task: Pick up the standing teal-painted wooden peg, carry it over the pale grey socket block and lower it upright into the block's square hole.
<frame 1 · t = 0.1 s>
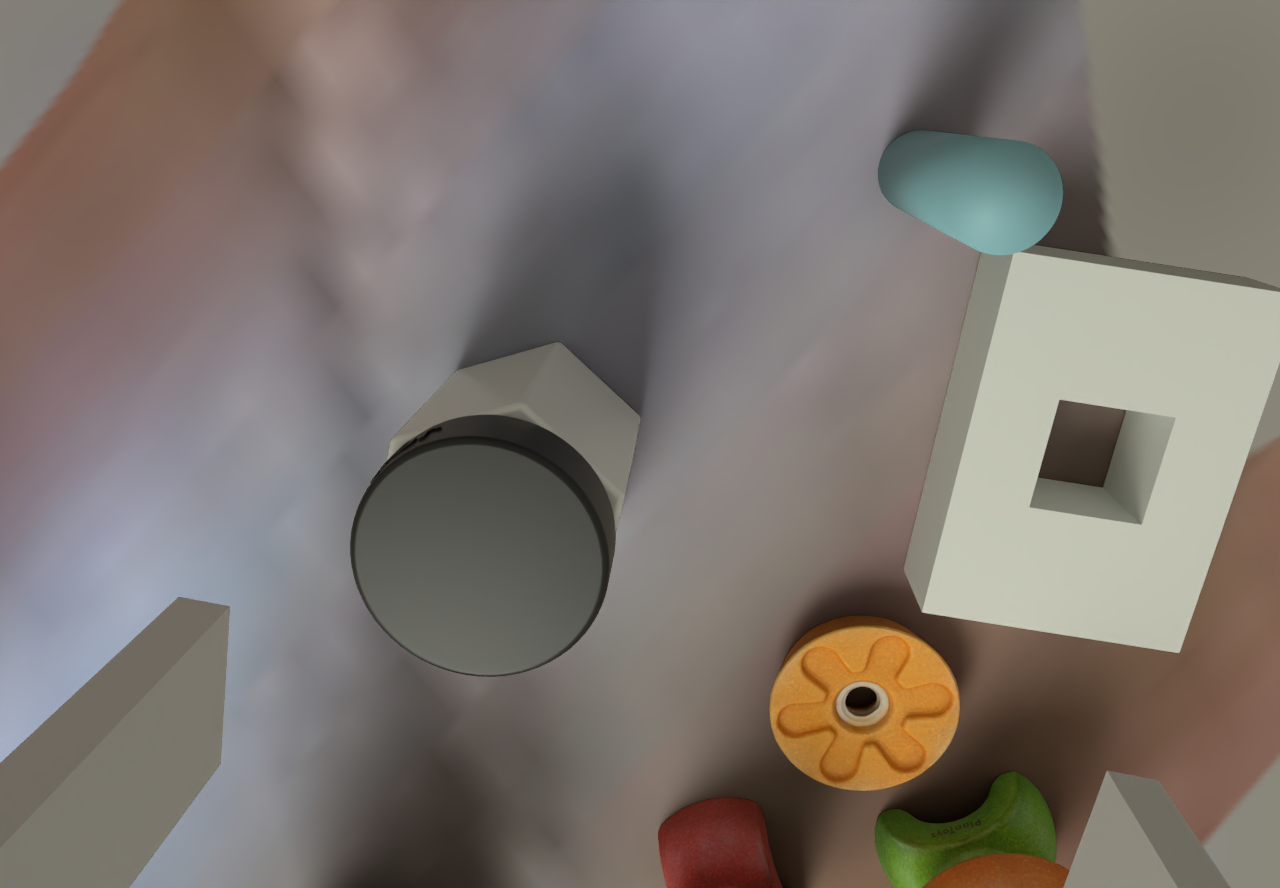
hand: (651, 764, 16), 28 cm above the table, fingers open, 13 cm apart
socket block: (1065, 430, 42), on the table
jar: (538, 442, 44), on the table
colourful stacking toy: (822, 792, 48), on the table
peg: (918, 171, 39), on the table
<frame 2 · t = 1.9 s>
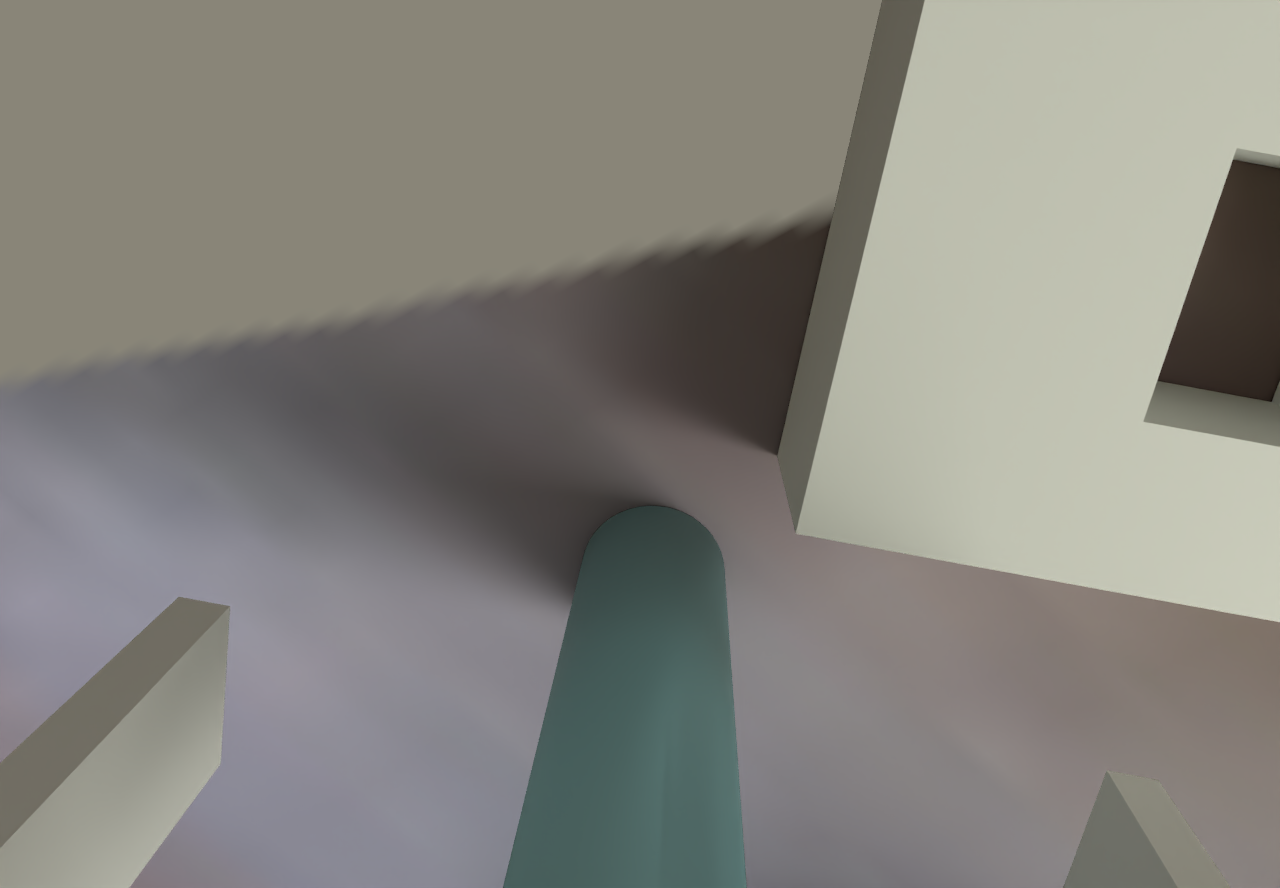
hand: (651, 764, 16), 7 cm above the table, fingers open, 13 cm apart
socket block: (1202, 275, 20), on the table
peg: (652, 572, 22), on the table
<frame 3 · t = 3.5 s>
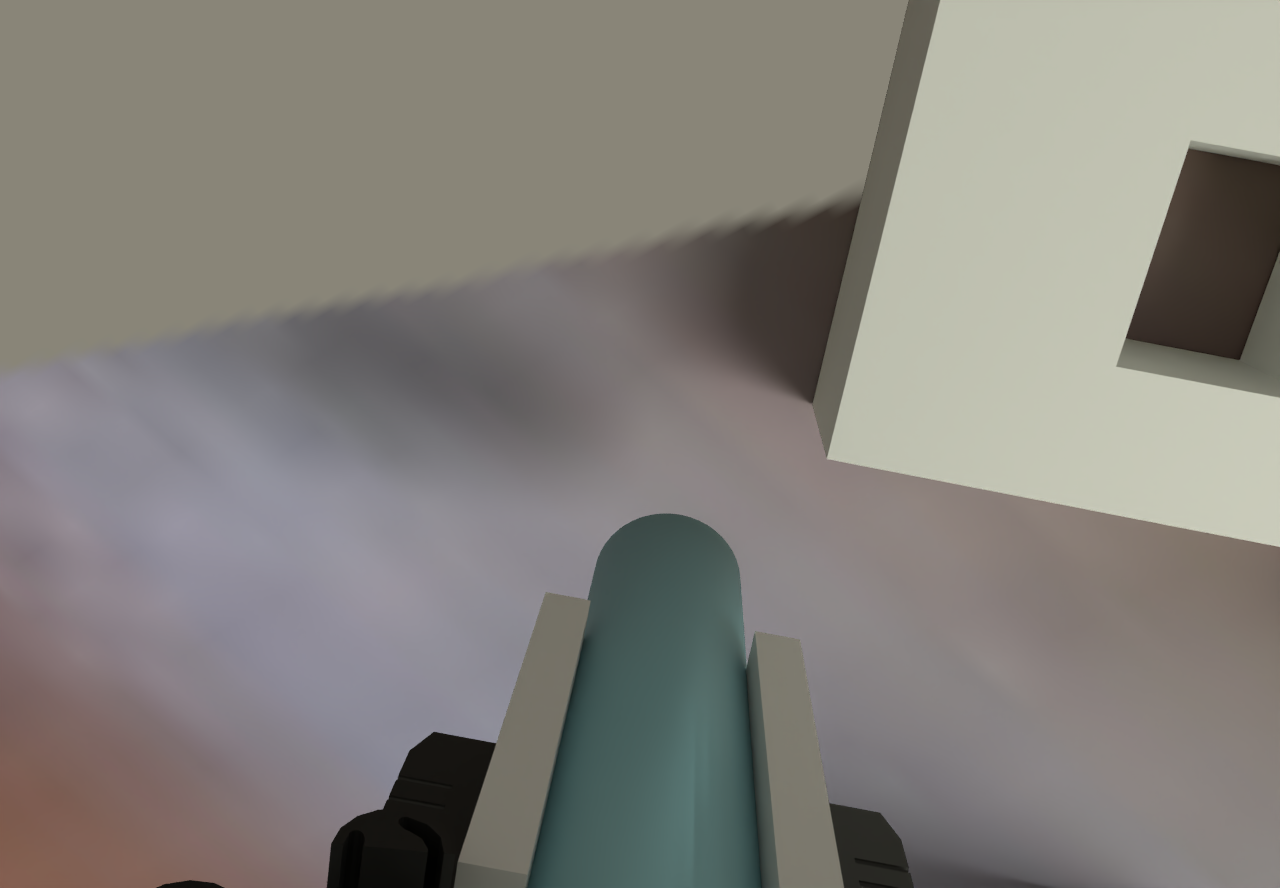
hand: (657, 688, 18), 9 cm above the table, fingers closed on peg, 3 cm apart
socket block: (1178, 250, 23), on the table
peg: (667, 581, 22), point 4 cm above the table, touching gripper
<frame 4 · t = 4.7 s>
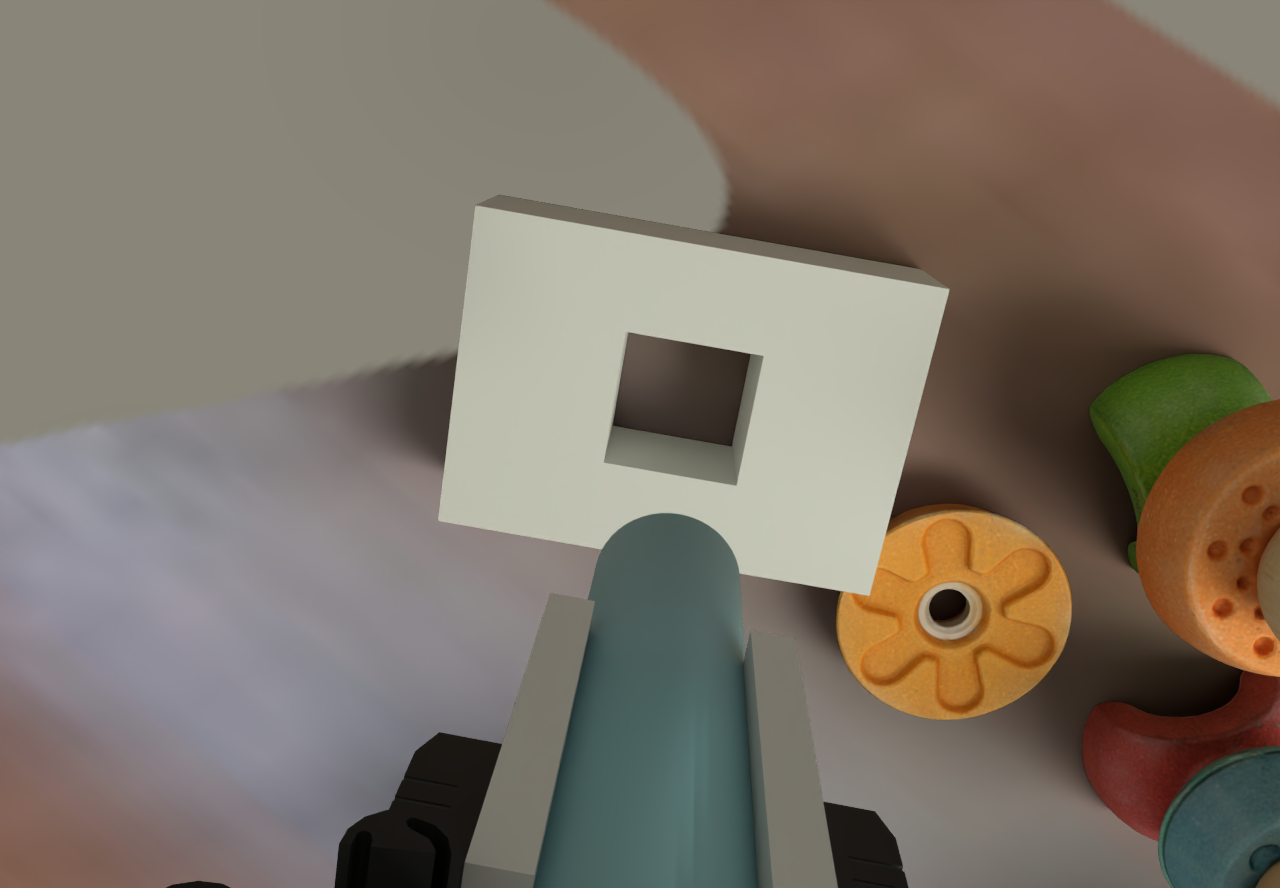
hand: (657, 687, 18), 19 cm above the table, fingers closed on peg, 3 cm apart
socket block: (683, 378, 36), on the table
colourful stacking toy: (1094, 629, 38), on the table
peg: (667, 580, 22), point 15 cm above the table, touching gripper
when the fingers open (5 cm above the table, at t = 6.5 s): peg stays where it is, resting in socket block.
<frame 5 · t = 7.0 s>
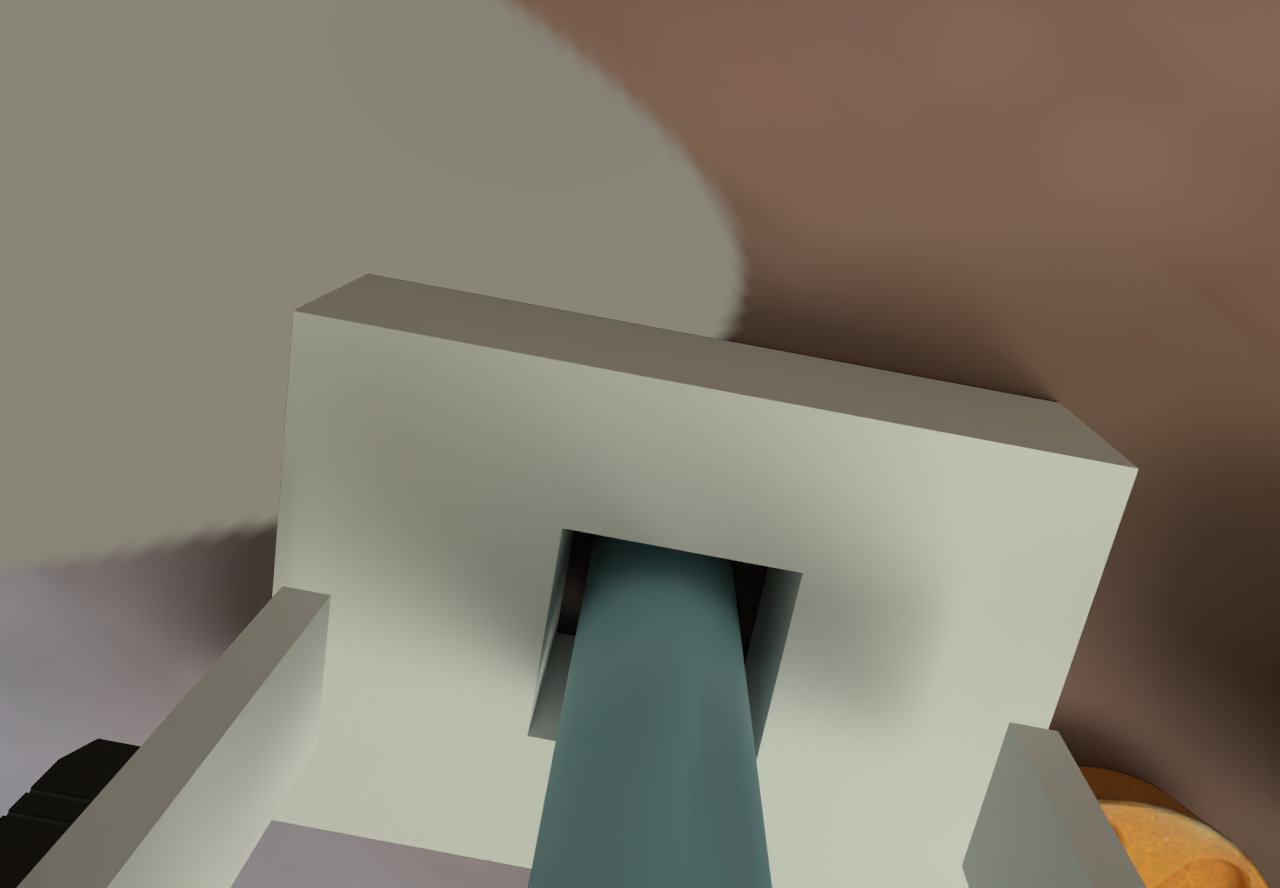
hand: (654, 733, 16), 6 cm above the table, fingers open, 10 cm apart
socket block: (667, 564, 22), on the table
peg: (660, 563, 22), resting in socket block
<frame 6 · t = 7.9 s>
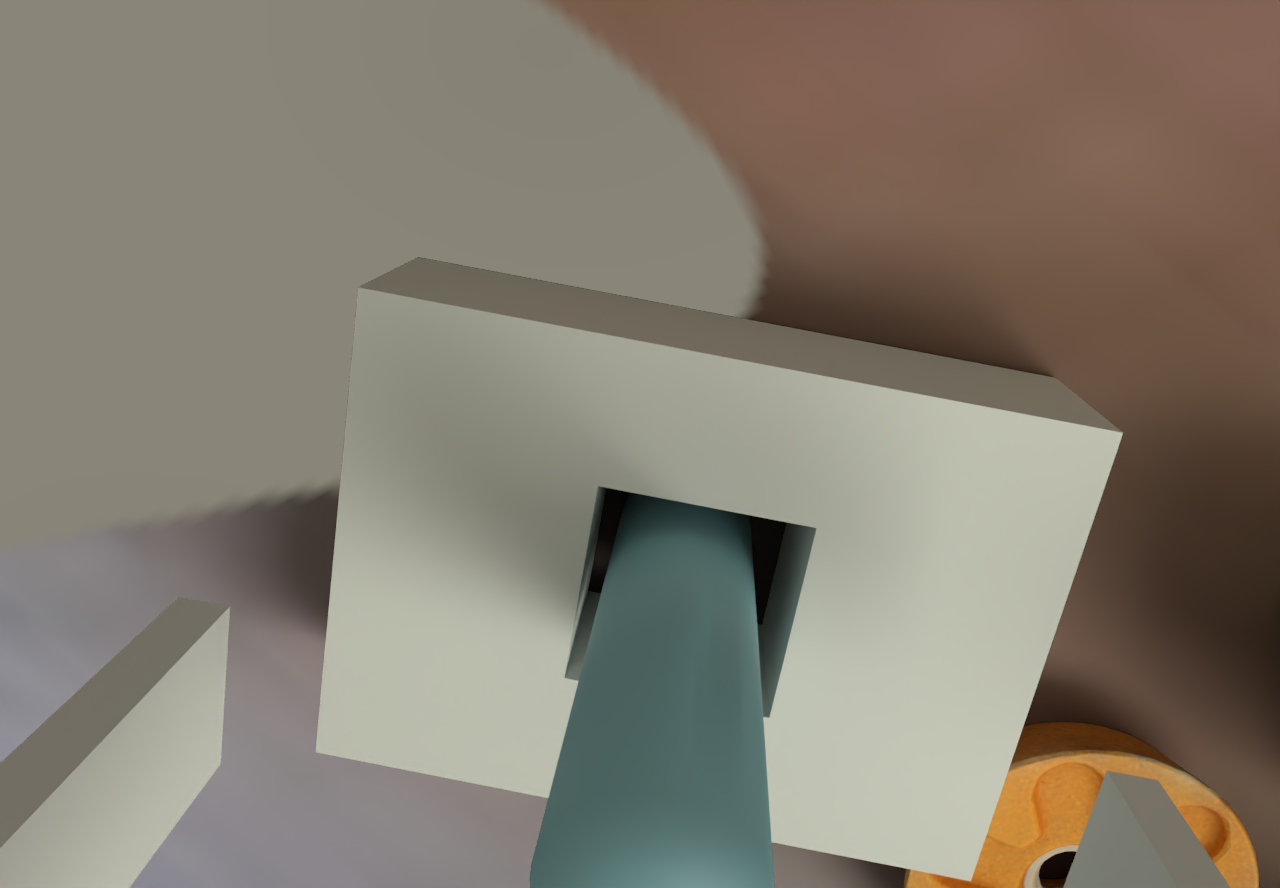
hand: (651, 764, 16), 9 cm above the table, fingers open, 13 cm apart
socket block: (691, 527, 24), on the table
peg: (685, 525, 24), resting in socket block
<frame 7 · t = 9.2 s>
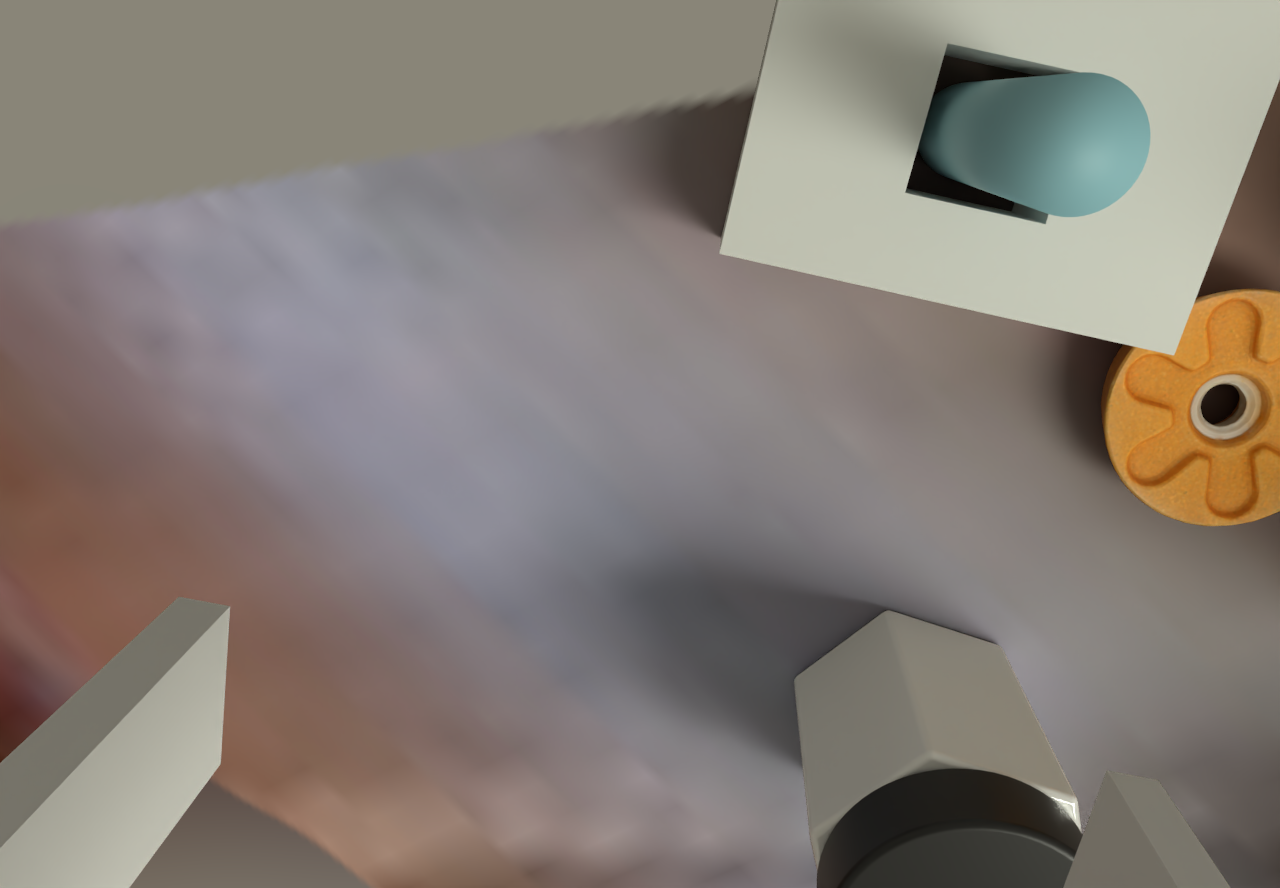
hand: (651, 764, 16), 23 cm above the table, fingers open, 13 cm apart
socket block: (968, 132, 34), on the table
jar: (903, 708, 41), on the table
peg: (963, 131, 34), resting in socket block
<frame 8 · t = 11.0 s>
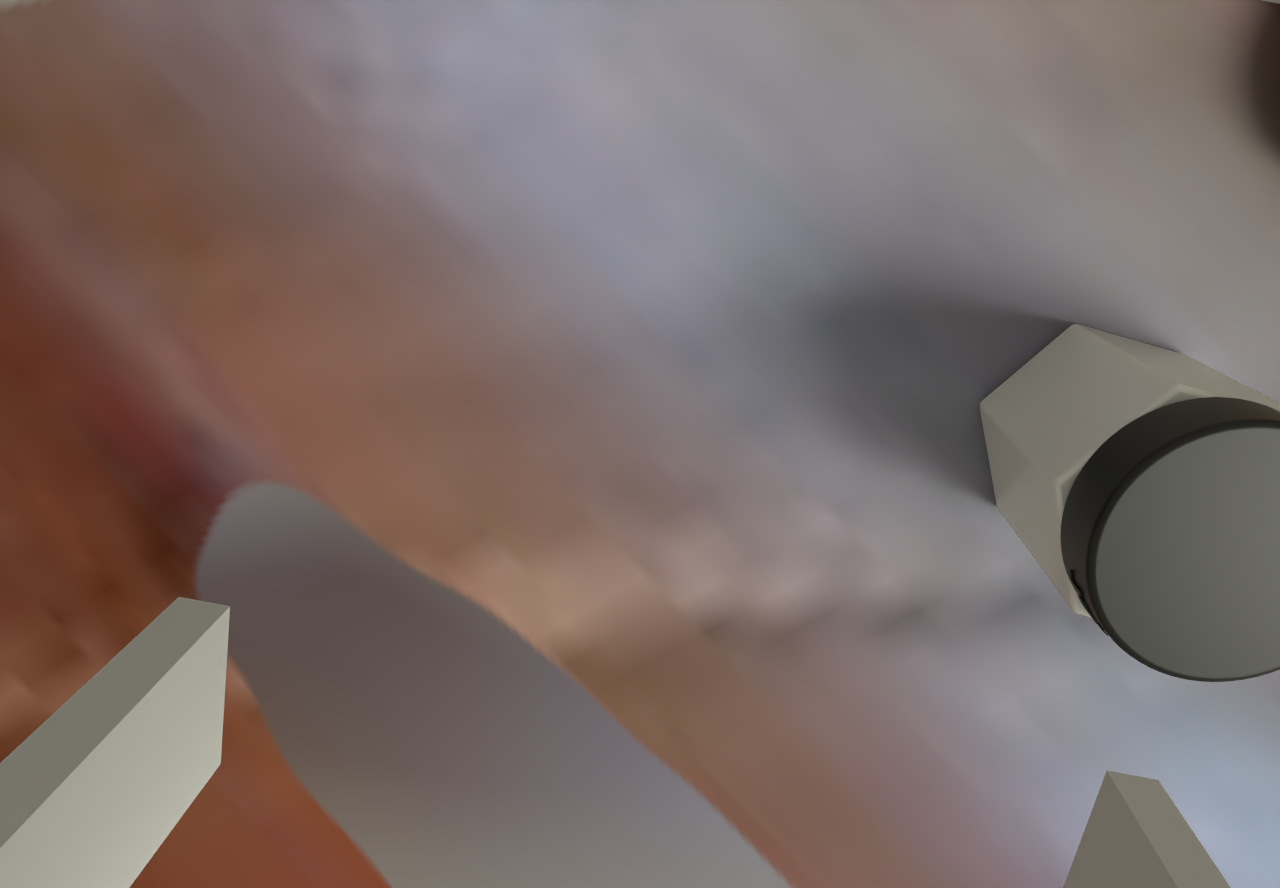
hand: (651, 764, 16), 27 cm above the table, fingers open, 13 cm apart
jar: (1085, 431, 41), on the table
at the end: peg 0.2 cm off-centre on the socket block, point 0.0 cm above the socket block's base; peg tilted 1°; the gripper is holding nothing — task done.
